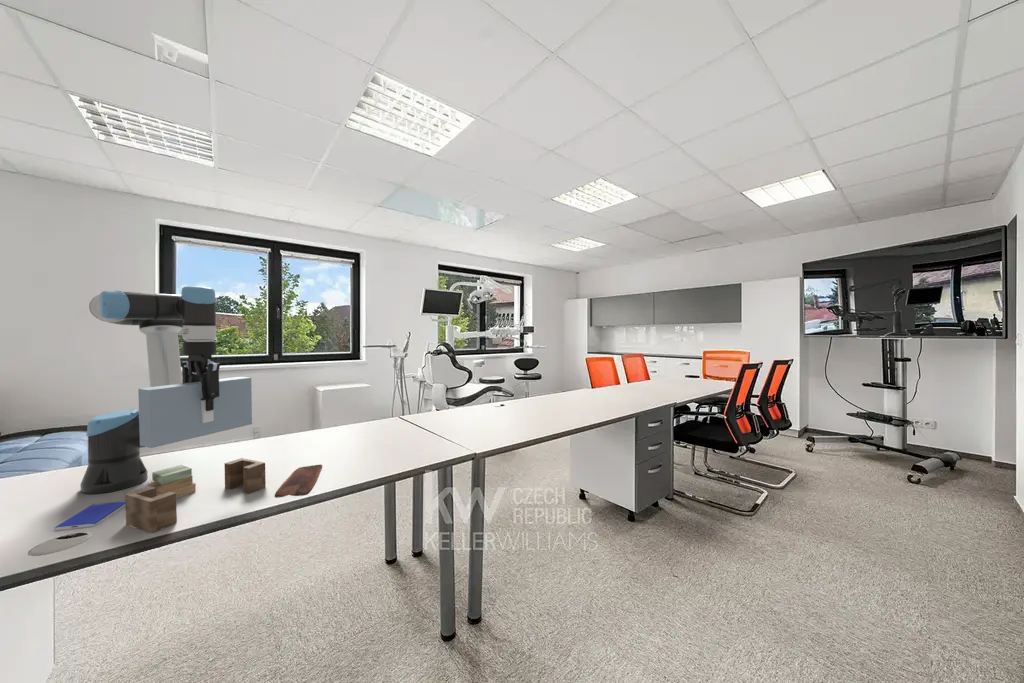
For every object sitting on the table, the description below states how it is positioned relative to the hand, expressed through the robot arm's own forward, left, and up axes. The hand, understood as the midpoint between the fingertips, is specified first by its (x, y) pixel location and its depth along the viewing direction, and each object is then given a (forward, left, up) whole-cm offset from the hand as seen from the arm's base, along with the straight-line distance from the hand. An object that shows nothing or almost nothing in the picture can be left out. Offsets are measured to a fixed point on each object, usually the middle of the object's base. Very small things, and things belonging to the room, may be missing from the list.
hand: (201, 420), depth 111 cm
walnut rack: (0, 0, -25) cm, 25 cm away
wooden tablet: (+11, +24, -25) cm, 37 cm away
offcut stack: (-15, 0, -25) cm, 29 cm away
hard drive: (-19, -16, -25) cm, 36 cm away
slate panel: (0, 0, -4) cm, 4 cm away
